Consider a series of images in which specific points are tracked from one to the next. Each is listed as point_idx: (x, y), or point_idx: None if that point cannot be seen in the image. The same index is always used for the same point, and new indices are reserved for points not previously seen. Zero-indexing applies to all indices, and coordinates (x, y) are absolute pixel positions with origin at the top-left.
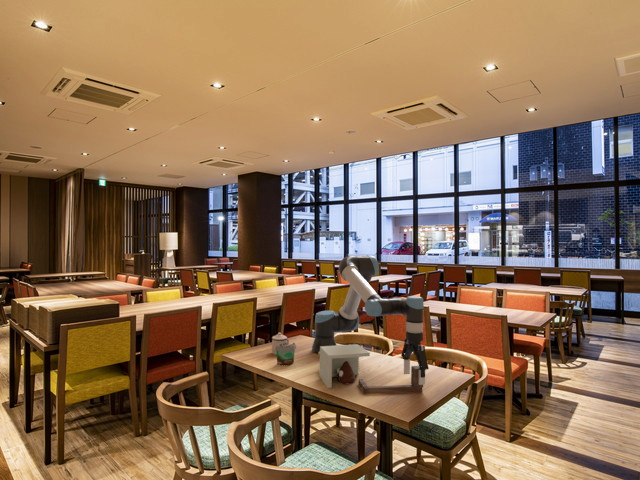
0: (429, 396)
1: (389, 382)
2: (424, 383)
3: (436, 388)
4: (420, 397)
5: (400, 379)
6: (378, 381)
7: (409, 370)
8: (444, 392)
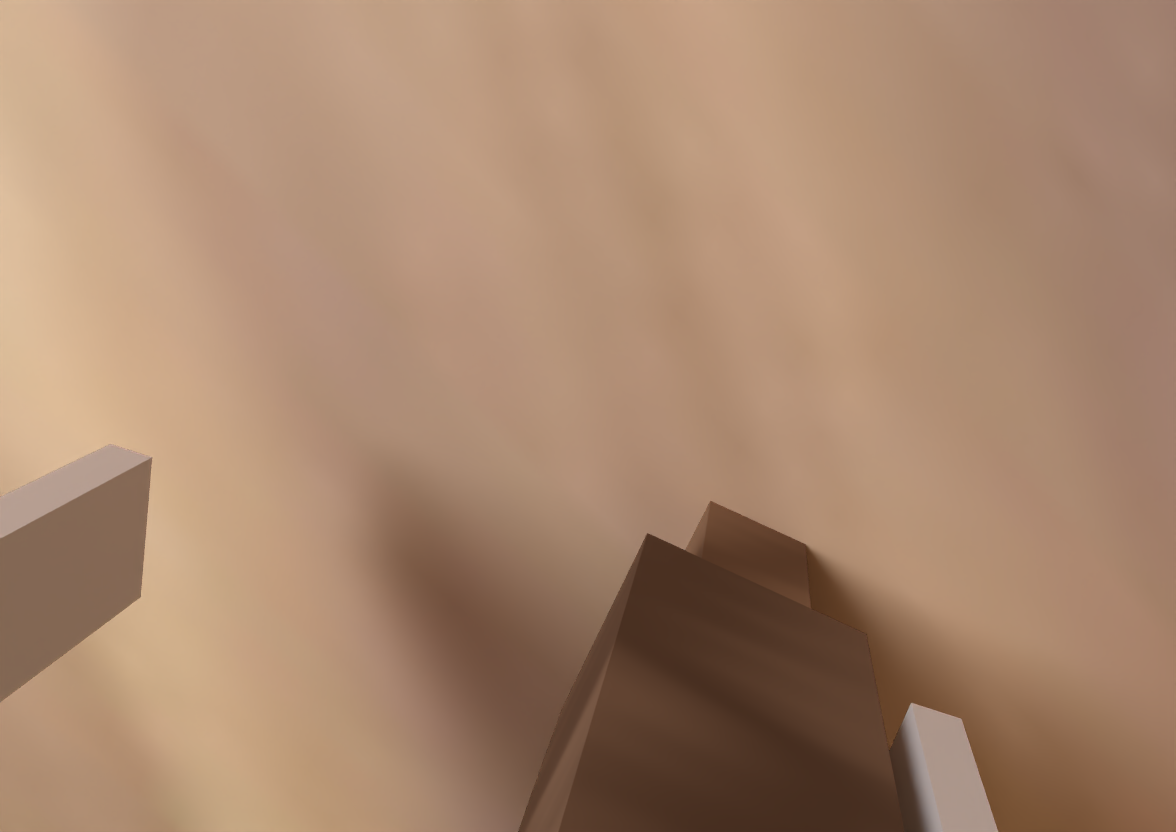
0: (1078, 607)
1: (134, 697)
2: (961, 749)
3: (841, 63)
4: (990, 787)
5: (57, 409)
6: (42, 807)
7: (78, 507)
8: (1167, 83)
